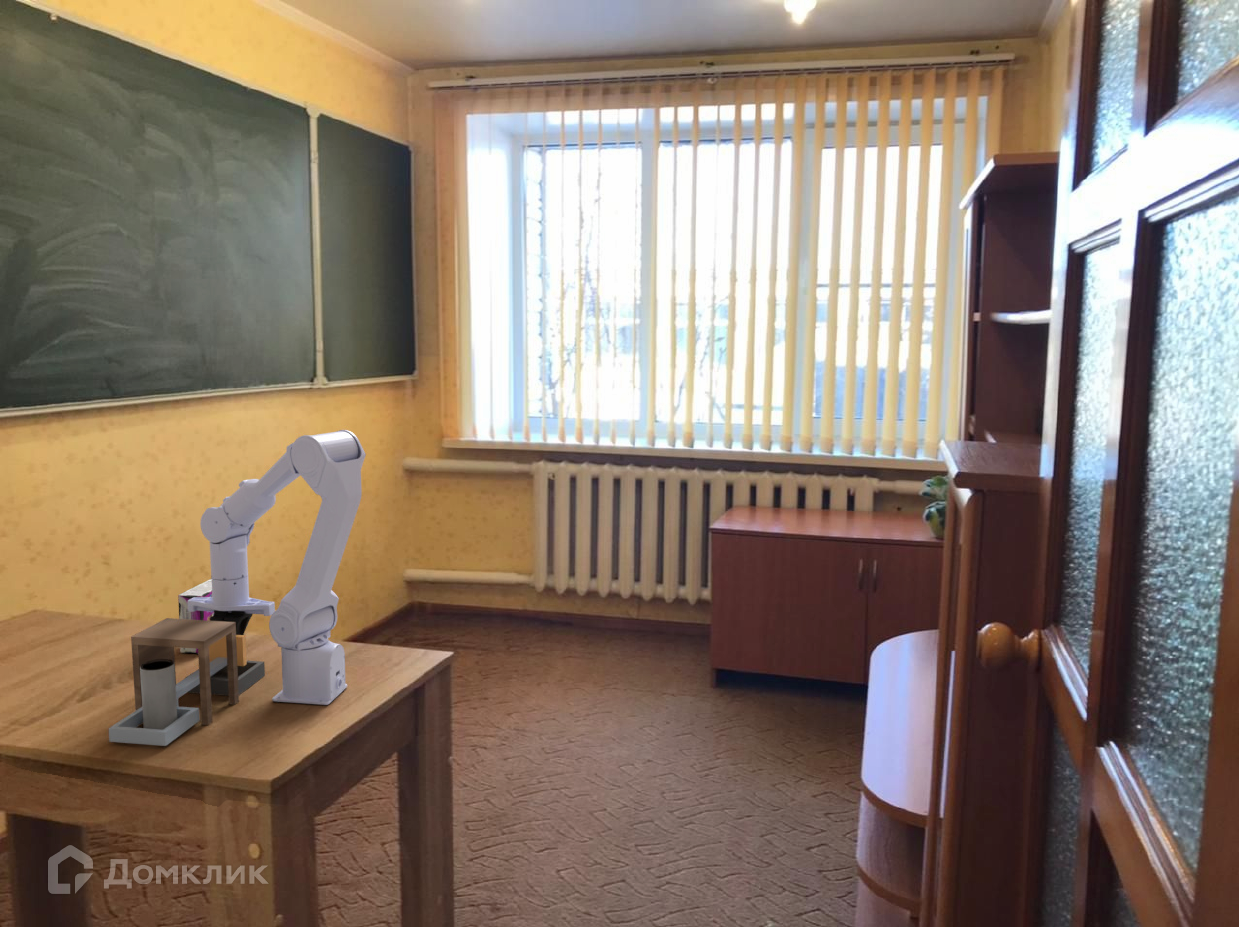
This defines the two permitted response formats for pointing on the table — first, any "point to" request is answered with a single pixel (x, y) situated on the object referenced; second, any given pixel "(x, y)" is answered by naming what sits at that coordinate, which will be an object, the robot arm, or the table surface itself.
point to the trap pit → (245, 678)
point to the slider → (185, 715)
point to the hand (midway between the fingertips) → (233, 653)
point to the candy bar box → (183, 598)
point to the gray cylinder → (158, 693)
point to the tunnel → (187, 635)
